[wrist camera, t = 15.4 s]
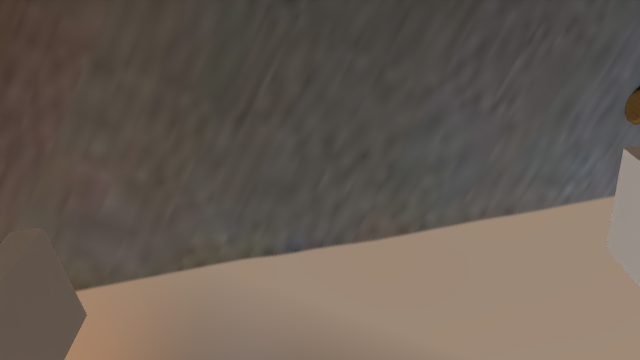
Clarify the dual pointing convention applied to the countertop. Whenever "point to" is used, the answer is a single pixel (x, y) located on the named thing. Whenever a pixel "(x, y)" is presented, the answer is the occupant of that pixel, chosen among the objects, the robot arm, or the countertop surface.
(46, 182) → the countertop surface
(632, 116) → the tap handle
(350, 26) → the countertop surface
